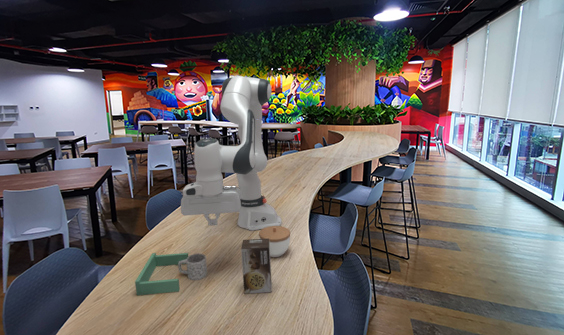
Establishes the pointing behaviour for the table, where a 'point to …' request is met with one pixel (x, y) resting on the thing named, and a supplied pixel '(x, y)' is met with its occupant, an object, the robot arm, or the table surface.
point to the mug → (194, 266)
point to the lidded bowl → (276, 239)
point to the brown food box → (256, 265)
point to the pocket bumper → (160, 285)
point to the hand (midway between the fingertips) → (213, 224)
